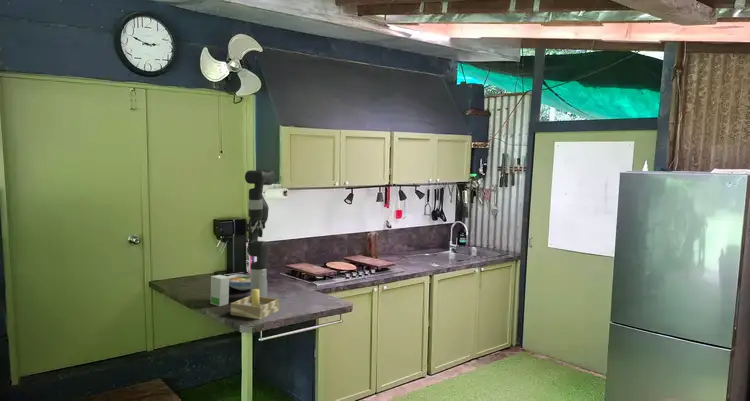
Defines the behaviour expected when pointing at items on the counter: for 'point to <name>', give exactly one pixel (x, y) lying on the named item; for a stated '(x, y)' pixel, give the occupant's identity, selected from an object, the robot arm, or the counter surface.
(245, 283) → the ramen bowl
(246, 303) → the box
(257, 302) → the peg
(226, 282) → the skincare box
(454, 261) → the counter surface
